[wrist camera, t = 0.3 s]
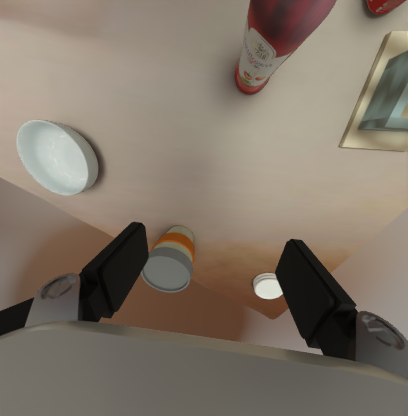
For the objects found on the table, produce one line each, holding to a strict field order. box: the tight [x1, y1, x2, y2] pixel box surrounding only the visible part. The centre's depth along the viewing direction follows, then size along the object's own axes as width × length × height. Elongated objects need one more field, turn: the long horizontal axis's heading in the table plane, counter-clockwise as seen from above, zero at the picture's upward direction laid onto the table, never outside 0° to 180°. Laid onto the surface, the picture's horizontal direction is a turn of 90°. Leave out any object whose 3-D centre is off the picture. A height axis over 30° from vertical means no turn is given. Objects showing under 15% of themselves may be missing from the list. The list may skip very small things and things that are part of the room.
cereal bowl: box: [17, 120, 98, 195], centre depth 36 cm, size 17×17×7 cm
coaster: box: [253, 273, 283, 299], centre depth 51 cm, size 10×10×4 cm
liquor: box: [235, 0, 337, 94], centre depth 16 cm, size 7×7×28 cm
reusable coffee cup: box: [141, 226, 194, 292], centre depth 41 cm, size 13×13×15 cm
